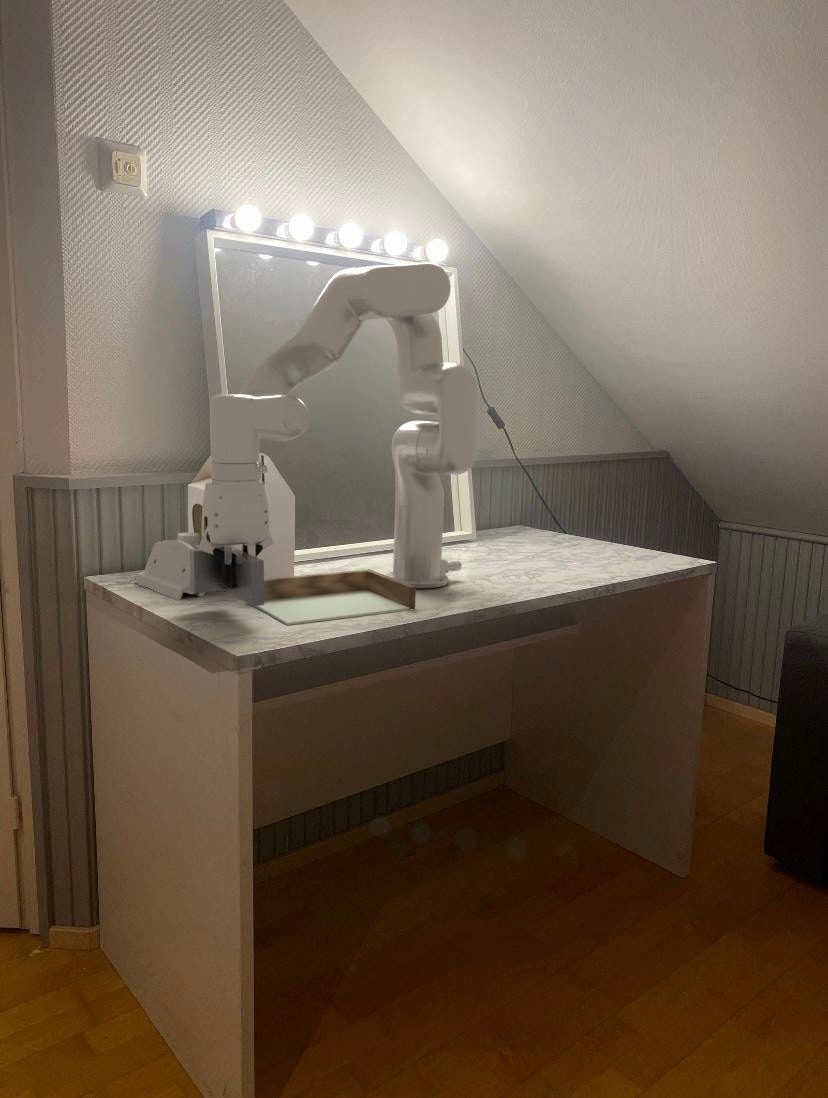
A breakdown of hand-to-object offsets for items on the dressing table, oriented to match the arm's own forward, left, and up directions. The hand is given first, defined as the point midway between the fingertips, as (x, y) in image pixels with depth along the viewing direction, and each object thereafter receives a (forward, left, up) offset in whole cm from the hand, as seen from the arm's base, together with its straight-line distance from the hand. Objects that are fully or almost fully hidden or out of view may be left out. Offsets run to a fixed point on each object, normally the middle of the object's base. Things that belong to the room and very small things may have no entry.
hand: (237, 585), depth 137 cm
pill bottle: (-1, -29, -5) cm, 29 cm away
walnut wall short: (-28, +2, -5) cm, 28 cm away
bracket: (+2, +2, -1) cm, 3 cm away
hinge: (+3, -22, -5) cm, 23 cm away
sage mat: (-16, +2, -5) cm, 17 cm away
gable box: (-11, -26, -5) cm, 29 cm away
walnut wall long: (-16, -6, -5) cm, 18 cm away
